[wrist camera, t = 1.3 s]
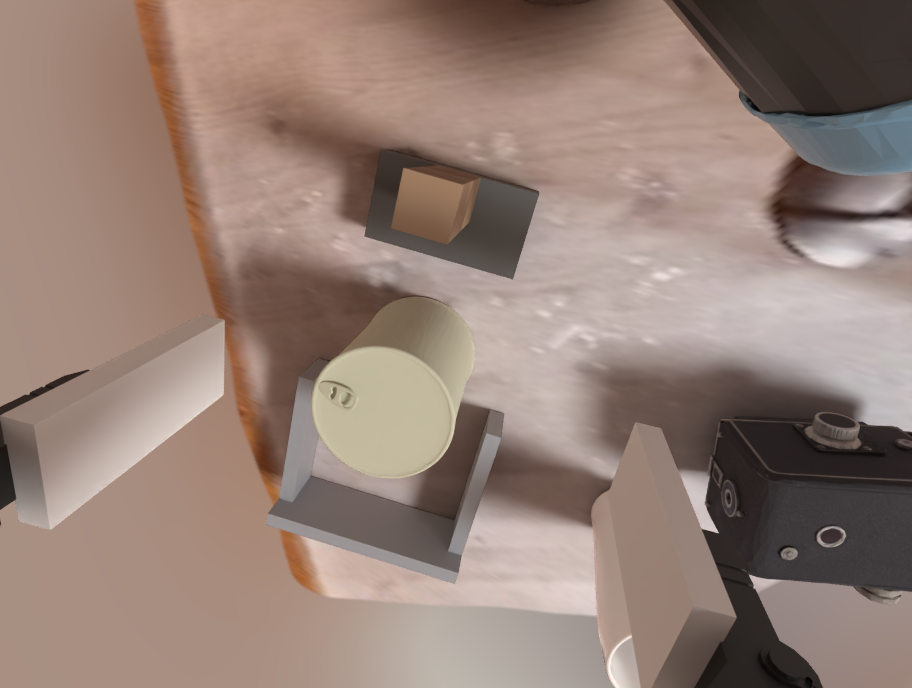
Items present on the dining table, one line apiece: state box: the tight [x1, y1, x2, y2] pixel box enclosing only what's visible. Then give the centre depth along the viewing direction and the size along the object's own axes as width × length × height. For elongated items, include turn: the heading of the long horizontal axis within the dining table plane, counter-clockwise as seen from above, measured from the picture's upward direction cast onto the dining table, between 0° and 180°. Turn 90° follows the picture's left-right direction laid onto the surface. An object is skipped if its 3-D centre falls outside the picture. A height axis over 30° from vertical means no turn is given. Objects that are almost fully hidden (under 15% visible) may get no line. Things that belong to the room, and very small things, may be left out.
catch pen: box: [267, 358, 504, 584], centre depth 43 cm, size 13×16×6 cm
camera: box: [705, 412, 912, 605], centre depth 36 cm, size 11×11×15 cm
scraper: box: [365, 149, 539, 279], centre depth 32 cm, size 6×11×13 cm, turn 76°
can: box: [311, 297, 475, 478], centre depth 37 cm, size 9×9×12 cm
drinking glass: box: [591, 490, 641, 688], centre depth 38 cm, size 7×7×15 cm
